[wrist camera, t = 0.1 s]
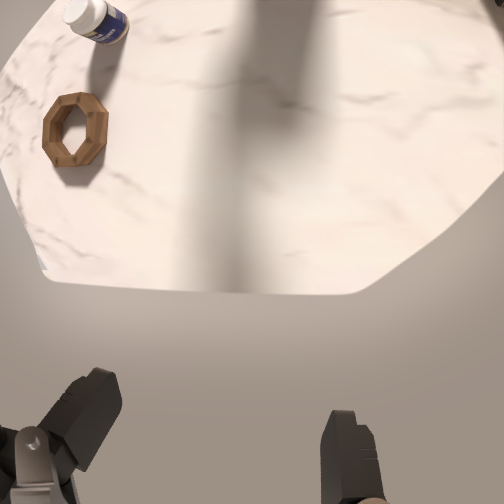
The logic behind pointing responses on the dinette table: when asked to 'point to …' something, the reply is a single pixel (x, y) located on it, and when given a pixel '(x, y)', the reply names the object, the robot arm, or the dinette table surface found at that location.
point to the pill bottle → (96, 20)
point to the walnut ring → (94, 130)
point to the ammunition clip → (500, 2)
